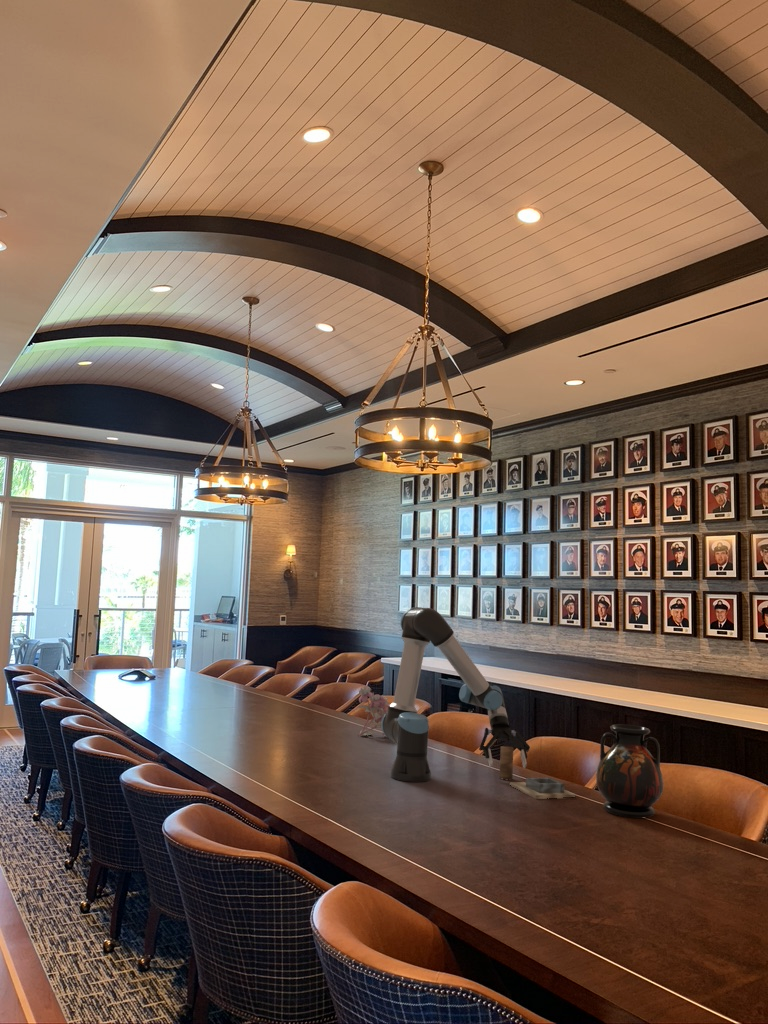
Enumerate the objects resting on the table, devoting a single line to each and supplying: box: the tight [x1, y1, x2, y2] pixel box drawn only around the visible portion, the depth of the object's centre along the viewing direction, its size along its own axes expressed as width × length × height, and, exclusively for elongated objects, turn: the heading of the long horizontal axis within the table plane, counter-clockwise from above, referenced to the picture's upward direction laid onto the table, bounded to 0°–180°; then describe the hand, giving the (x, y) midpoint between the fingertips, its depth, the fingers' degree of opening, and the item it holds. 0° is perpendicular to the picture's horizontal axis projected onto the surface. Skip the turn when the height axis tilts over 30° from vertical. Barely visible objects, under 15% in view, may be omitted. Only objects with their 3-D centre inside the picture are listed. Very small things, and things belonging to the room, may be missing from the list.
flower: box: [356, 685, 390, 737], centre depth 384 cm, size 20×22×25 cm
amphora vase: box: [595, 723, 664, 819], centre depth 261 cm, size 22×22×28 cm
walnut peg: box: [499, 745, 514, 780], centre depth 303 cm, size 5×5×12 cm
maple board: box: [509, 777, 577, 800], centre depth 284 cm, size 16×20×4 cm
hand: (508, 765), depth 301 cm, fingers open, 13 cm apart
